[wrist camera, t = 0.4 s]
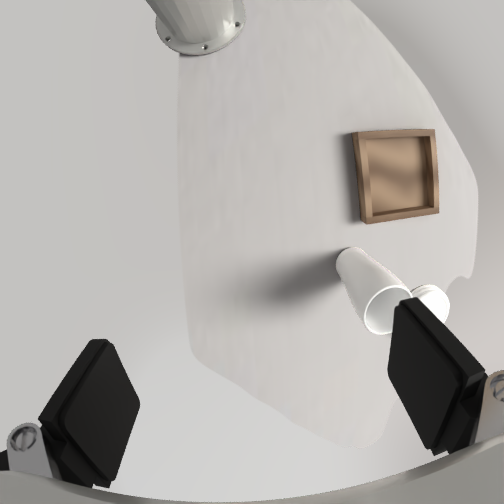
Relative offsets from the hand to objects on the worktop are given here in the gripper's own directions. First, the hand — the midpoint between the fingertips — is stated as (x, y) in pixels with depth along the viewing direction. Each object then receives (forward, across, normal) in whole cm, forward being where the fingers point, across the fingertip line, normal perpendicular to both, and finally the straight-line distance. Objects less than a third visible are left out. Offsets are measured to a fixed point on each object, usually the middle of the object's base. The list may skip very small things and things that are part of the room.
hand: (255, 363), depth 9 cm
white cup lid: (+36, -28, +24) cm, 52 cm away
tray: (+35, -22, -1) cm, 41 cm away
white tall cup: (+35, -14, +12) cm, 40 cm away
